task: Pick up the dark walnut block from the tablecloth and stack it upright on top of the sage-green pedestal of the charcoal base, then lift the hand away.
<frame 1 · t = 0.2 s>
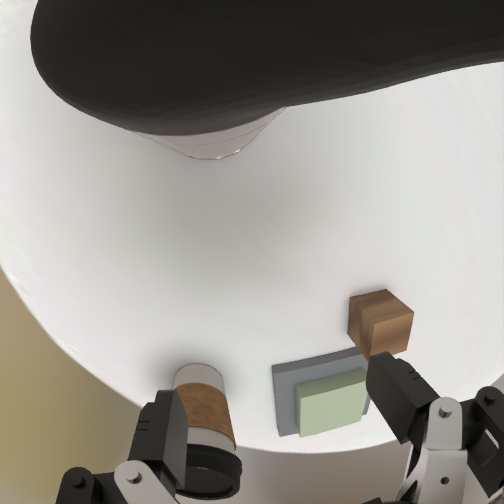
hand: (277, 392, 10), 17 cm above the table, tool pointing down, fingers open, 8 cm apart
stack base: (325, 391, 33), on the table
coffee cup: (199, 379, 31), on the table
walnut block: (367, 311, 30), on the table
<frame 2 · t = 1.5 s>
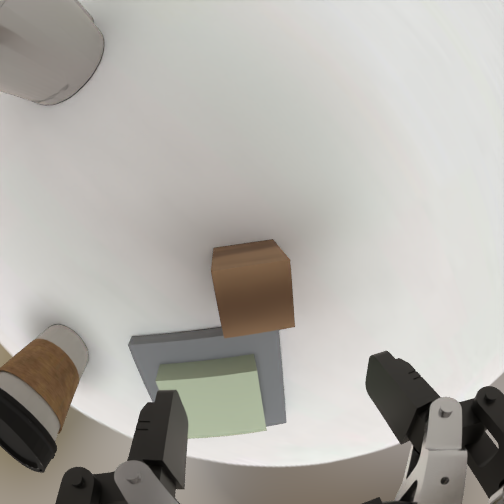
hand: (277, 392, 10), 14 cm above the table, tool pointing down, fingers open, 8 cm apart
stack base: (214, 384, 26), on the table
coffee cup: (67, 346, 24), on the table
walnut block: (247, 271, 24), on the table
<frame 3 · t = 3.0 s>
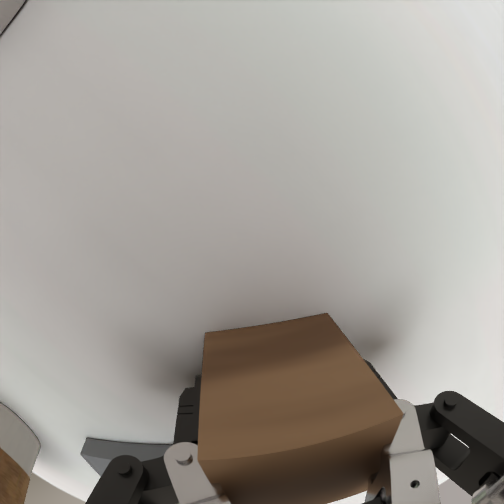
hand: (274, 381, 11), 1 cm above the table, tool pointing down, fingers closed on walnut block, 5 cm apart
stack base: (215, 490, 14), on the table
coffee cup: (13, 424, 11), on the table
walnut block: (272, 371, 11), on the table, touching gripper
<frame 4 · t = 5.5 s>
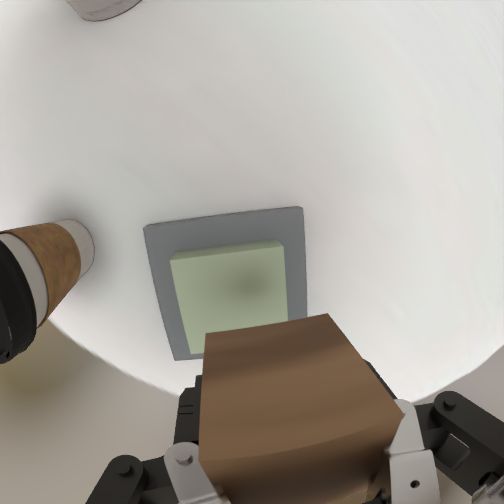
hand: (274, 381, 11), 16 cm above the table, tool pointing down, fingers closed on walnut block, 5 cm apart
stack base: (231, 287, 26), on the table
coffee cup: (72, 247, 24), on the table
walnut block: (272, 371, 11), point 15 cm above the table, touching gripper
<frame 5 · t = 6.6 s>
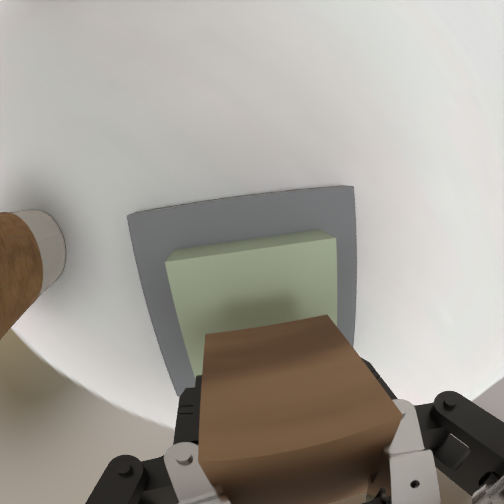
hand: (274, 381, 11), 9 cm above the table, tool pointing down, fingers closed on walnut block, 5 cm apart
stack base: (253, 298, 19), on the table
coffee cup: (39, 247, 16), on the table
walnut block: (272, 372, 11), point 8 cm above the table, touching gripper
when the fingers open (6 cm above the table, at t = 7.6 s): walnut block drops 1 cm, resting on stack base.
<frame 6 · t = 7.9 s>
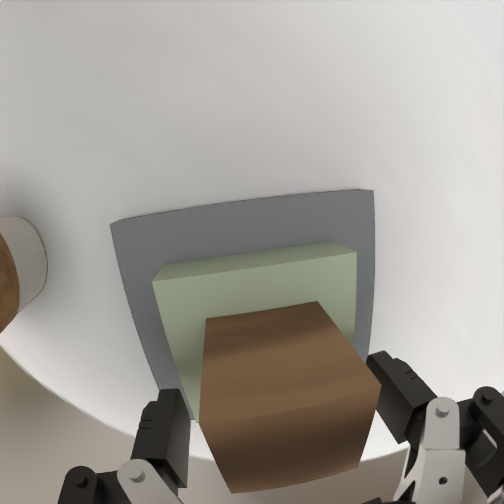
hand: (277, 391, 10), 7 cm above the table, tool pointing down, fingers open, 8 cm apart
stack base: (257, 317, 16), on the table
coffee cup: (20, 257, 14), on the table
walnut block: (267, 355, 13), point 4 cm above the table, touching stack base
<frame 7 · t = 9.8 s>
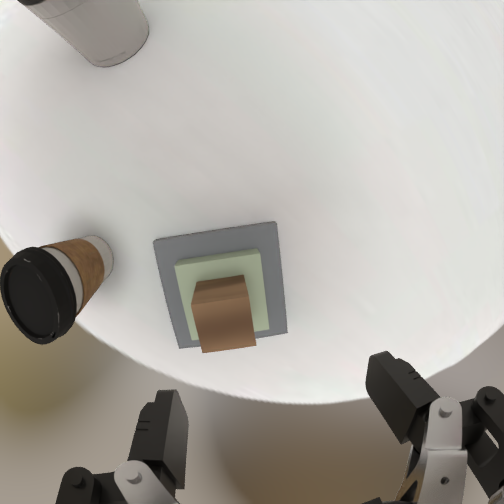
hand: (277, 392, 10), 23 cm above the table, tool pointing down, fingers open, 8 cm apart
stack base: (223, 287, 33), on the table
coffee cup: (94, 258, 31), on the table
walnut block: (223, 299, 29), point 4 cm above the table, touching stack base
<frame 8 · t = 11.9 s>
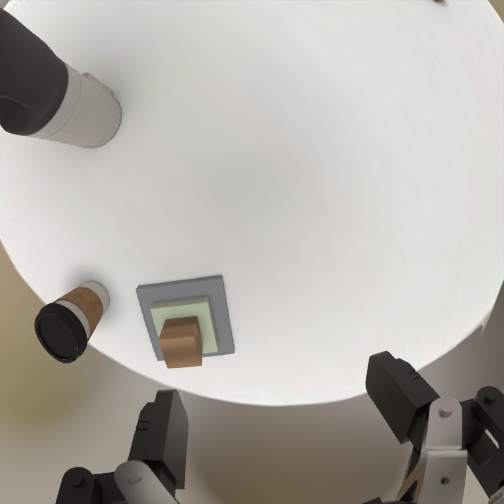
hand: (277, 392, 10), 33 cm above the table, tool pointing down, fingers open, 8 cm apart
stack base: (187, 319, 44), on the table
coffee cup: (95, 296, 42), on the table
walnut block: (184, 331, 41), point 4 cm above the table, touching stack base
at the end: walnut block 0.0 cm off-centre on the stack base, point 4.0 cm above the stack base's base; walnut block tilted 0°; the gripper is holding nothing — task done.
